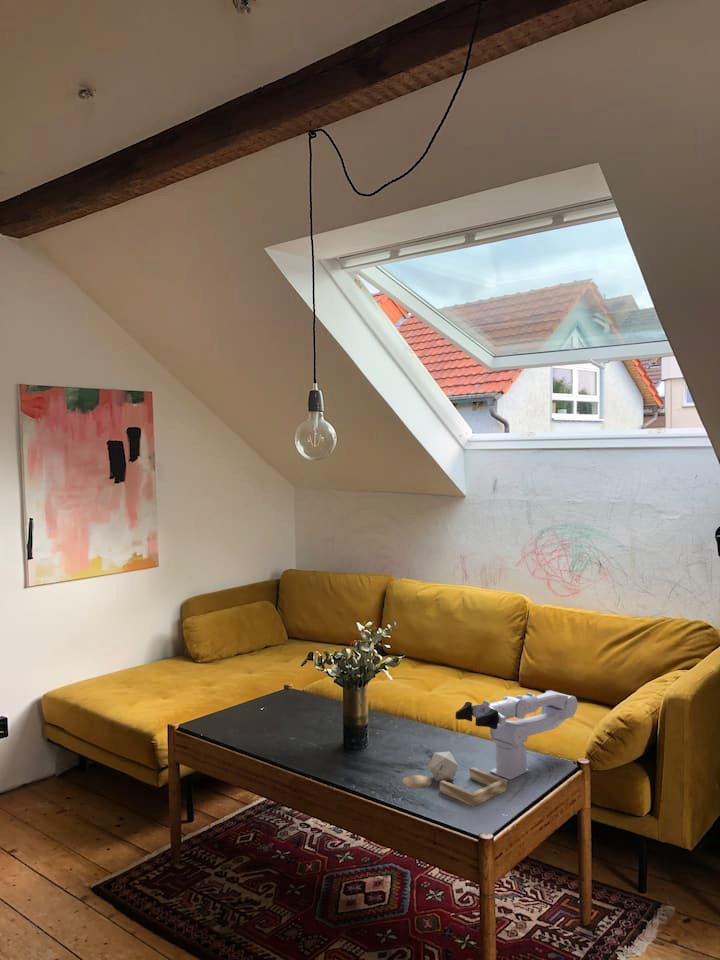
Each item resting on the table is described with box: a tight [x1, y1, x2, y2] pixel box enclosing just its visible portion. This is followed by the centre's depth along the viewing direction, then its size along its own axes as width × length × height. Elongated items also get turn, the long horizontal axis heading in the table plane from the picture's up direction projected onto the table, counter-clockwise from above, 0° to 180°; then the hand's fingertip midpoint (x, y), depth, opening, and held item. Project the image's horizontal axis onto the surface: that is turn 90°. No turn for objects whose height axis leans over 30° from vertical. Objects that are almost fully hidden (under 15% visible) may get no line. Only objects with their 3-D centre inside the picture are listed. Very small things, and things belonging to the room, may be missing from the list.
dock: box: [439, 766, 508, 807], centre depth 230 cm, size 15×13×3 cm
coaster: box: [401, 774, 433, 789], centre depth 237 cm, size 9×9×1 cm
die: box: [428, 751, 459, 782], centre depth 239 cm, size 8×9×10 cm
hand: (466, 718), depth 229 cm, fingers open, 7 cm apart
